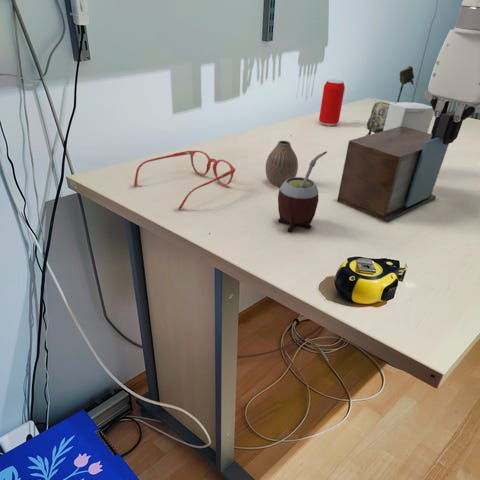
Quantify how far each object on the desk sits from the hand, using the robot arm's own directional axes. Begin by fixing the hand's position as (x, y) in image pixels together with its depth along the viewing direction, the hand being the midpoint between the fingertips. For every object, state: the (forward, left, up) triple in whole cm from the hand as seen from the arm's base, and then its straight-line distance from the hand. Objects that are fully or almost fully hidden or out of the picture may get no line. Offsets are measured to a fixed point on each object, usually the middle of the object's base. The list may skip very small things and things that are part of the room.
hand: (442, 140), depth 79 cm
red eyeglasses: (+35, +34, -13) cm, 51 cm away
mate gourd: (+9, +28, -13) cm, 32 cm away
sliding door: (0, +2, -12) cm, 12 cm away
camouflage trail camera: (+24, -21, -13) cm, 34 cm away
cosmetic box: (+14, -12, -13) cm, 23 cm away
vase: (+25, +16, -13) cm, 33 cm away
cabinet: (+6, +4, -13) cm, 15 cm away
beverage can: (+50, -31, -13) cm, 60 cm away
